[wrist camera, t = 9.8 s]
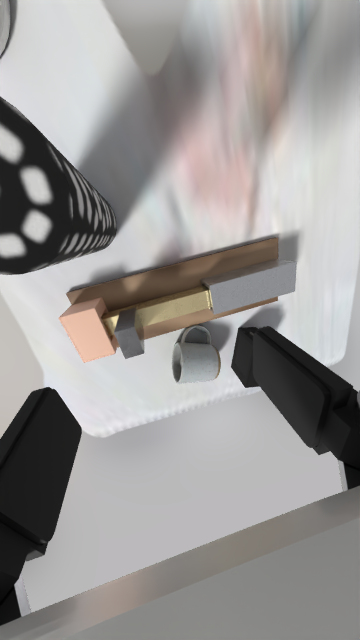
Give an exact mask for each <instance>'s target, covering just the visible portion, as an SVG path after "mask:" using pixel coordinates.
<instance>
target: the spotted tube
mask: <svg viewBox="0 0 360 640" xmlns="http://www.w3.org/2000/svg"><path fill="white" fill-rule="evenodd" d="M115 234H116V218H115V215H114V212H113V210H112V208H111V206H110V205H109V204H108V202H107V201H106V200H105V199H104V198H103V197H102V196H101V195H100V194H99V193H98V192H97V190H96V189H95V188H94V187H93V186H92V185H91V184H90V183H89V182H88V181H87V180H86V179H85V178H84V177H83V176H82V175H81V174H80V173H79V172H78V171H77V170H76V169H75V167H74V166H73V165H72V164H71V163H70V162H69V161H68V160H67V159H66V158H65V157H64V156H63V155H62V154H61V153H60V152H59V151H58V150H57V149H56V148H55V147H54V146H53V145H52V143H51V142H50V141H49V140H48V139H47V138H46V137H45V136H44V135H43V134H42V133H41V132H40V131H39V130H38V129H37V128H36V127H35V126H34V125H33V124H32V123H31V122H30V121H29V120H28V119H27V118H26V117H25V116H24V115H23V114H22V113H21V112H20V111H19V110H18V109H17V108H15V107H14V106H13V105H11V104H10V103H9V102H7V101H6V100H4V99H3V98H2V97H0V274H3V275H14V274H24V273H28V272H32V271H36V270H39V269H43V268H46V267H49V266H52V265H55V264H59V263H62V262H65V261H68V260H71V259H75V258H78V257H81V256H84V255H87V254H91V253H94V252H97V251H100V250H103V249H105V248H106V247H107V246H109V245H110V243H111V242H112V241H113V239H114V237H115Z"/></svg>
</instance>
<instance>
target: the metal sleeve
mask: <svg viewBox="0 0 360 640" xmlns="http://www.w3.org/2000/svg"><path fill="white" fill-rule="evenodd" d="M200 280H201V286H204V285H205V286H206V287H208V288H209V292H210V299H211V305H212V307H210V308H208V309H209V310H210V311H211V312H212V313H213V314H214V315H215V314H218V313H222V312H225V311H229V310H232V309H236V308H239V307H243V306H246V305H250V304H253V303H256V302H260V301H263V300H267V299H270V298H274V297H277V296H281V295H284V294H288V293H291V292H294V291H295V281H296V262H295V261H289V260H282V259H273V260H269V261H265V262H262V263H258V264H254V265H251V266H247V267H243V268H240V269H236V270H232V271H229V272H225V273H221V274H218V275H214V276H210V277H207V278H203V279H200Z"/></svg>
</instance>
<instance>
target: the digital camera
mask: <svg viewBox="0 0 360 640" xmlns="http://www.w3.org/2000/svg"><path fill="white" fill-rule="evenodd" d="M241 329H242V330H241ZM257 329H258V328H256V327H249V328H238V333H237V338H236V343H235V349H234V354H233V359H232V365H231V368H232V369H233V371H234V372H235V373H236V375H237V376H238V378H239V379H240V381H241V382H242V384H243V385H244V387H245V388H249V387H258V386H259V385H258V383H257V382H256V381H255V379H254V376H253V334H254V333H255V332H256V330H257Z"/></svg>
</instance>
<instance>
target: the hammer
mask: <svg viewBox="0 0 360 640" xmlns="http://www.w3.org/2000/svg"><path fill="white" fill-rule="evenodd" d="M210 307H212V305H211V299H210V292H209V288H208V287H206V286H205V285H204V286H201V287H197V288H194V289H190V290H186V291H183V292H179V293H175V294H172V295H168V296H165V297H161V298H157V299H154V300H150V301H146V302H143V303H139V304H136V305H132V306H128V307H125V308H121V309H118V310H114V311H110V312H107V313H103V314H102V316H101V319H102V321H103V323H104V326H105V328H106V330H107V332H108V334H109V336H112V335H115V336H116V339H117V341H118V343H119V346H120V348H121V350H122V352H123V355H124V357H125V359H127V358H130V357H134V356H137V355H140V354H144V329H143V327H144V326H147V325H151V324H154V323H158V322H161V321H165V320H168V319H172V318H175V317H179V316H182V315H186V314H189V313H193V312H196V311H200V310H203V309H207V308H210Z"/></svg>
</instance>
